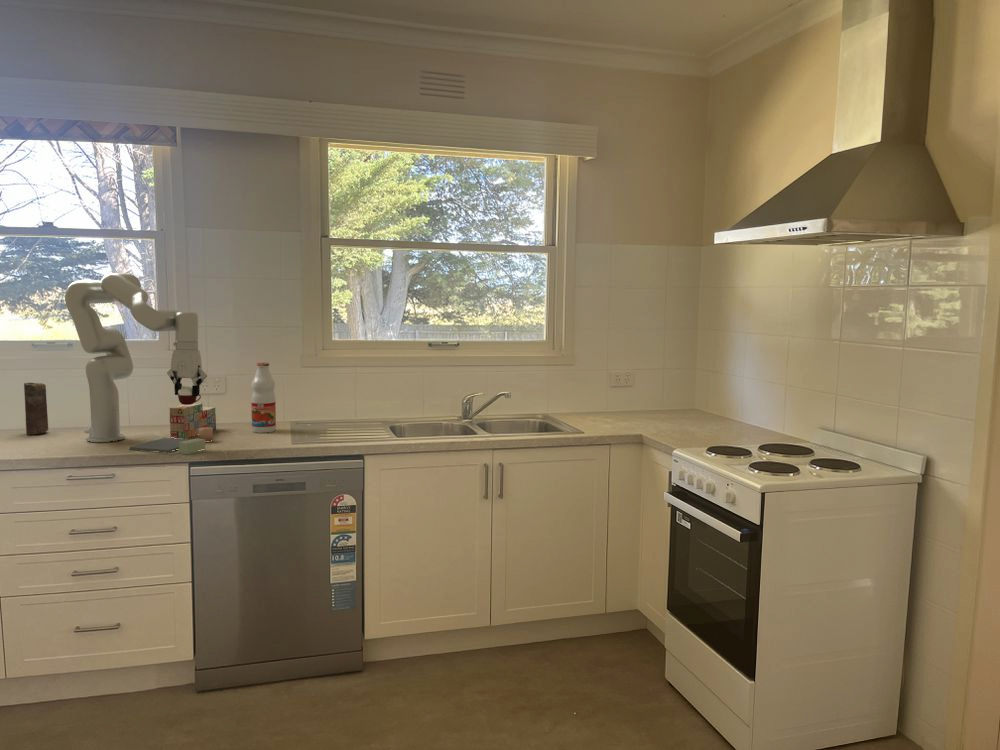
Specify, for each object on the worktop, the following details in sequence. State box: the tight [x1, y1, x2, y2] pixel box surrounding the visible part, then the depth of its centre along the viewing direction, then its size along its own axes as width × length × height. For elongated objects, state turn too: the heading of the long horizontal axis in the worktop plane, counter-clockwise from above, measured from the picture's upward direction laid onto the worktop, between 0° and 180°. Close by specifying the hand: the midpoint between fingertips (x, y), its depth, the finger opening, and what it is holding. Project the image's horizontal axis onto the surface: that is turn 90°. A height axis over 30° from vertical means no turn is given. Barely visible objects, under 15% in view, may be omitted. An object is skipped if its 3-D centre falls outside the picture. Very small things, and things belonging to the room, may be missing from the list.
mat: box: [128, 437, 188, 454], centre depth 266 cm, size 16×18×1 cm
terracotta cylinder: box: [198, 427, 214, 441], centre depth 277 cm, size 5×5×5 cm
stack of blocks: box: [169, 402, 217, 439], centre depth 290 cm, size 21×6×12 cm, turn 169°
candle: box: [23, 382, 49, 436], centre depth 284 cm, size 8×7×20 cm
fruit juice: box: [250, 362, 277, 434], centre depth 297 cm, size 9×9×28 cm
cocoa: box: [172, 371, 202, 405], centre depth 265 cm, size 10×6×12 cm, turn 98°
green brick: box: [178, 437, 206, 455], centre depth 259 cm, size 4×8×4 cm, turn 155°
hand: (187, 394), depth 266 cm, fingers closed on cocoa, 6 cm apart
